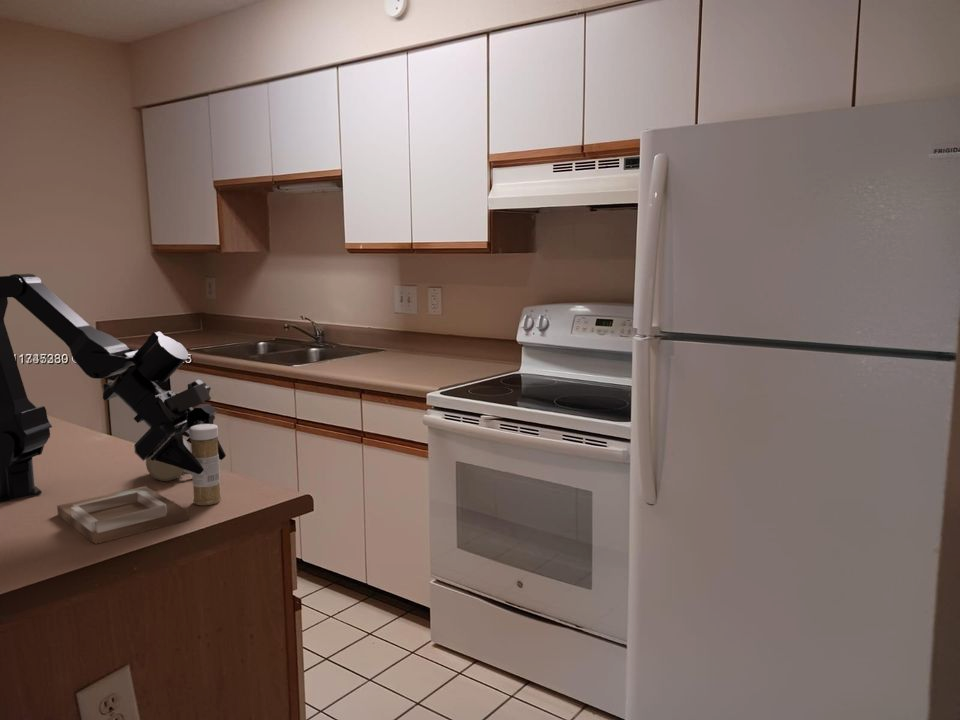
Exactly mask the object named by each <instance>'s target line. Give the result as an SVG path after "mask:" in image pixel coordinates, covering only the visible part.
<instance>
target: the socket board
mask: <svg viewBox="0 0 960 720" xmlns="http://www.w3.org/2000/svg"><path fill="white" fill-rule="evenodd" d="M56 506H57V507H56V509H57V516H58V517H60V518H61V519H63V520H64V521H65V522H66V523H67V524H69V525H70V527H72V528H74V529H75V530H76V531H77V532H79V533H80V534H81V533H82V534H81V535H83V536H84V537H85V538H86V539H87V540H89V541H90V540H91V541H92V542H91V541H90V542H91V543H92V544H94V543H95V544H94V545H98V544H97V543H99V544H101V543H102V542H103V543H106V542H110V541H113V539H114V540H117V539H116V538H118V539H121V538H120V537H122V538H124V536H125V537H128V536H127V535H129V536H132V535H131V534H133V535H137V534H139V532H141V533H144V532H148V531H152V530H155V529H159V527H160V528H163V527H166V526H170V524H171V525H174V524H175V525H176V524H179V523H181V522H182V523H183V522H185V520H186V521H189V510H188V509H186V508H185V507H183V506H181V505H179V504H178V503H176V502H174V501H172V500H170V498H167V497H165V496H163V495H161V493H158V492H156V491H154V490H153V489H151V488H149V487H147V486H146V485H145V486H140V487H136V488H132V489H126V490H122V491H117V492H113V493H108V494H103V495H99V496H94V497H90V498H86V499H85V498H84V499H80V500H76V501H72V502H67V503H62V504H58V505H56ZM178 522H179V523H178ZM151 529H152V530H151ZM147 530H148V531H147ZM143 531H144V532H143ZM136 533H137V534H136ZM105 541H106V542H105Z"/></svg>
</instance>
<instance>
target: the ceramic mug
mask: <svg viewBox="0 0 960 720" xmlns="http://www.w3.org/2000/svg"><path fill="white" fill-rule="evenodd" d="M186 440H187V439H184V438H183V443H184V445H185V446H186V447H187V449H188V450H189V451H190V452H191V448H190V445H189V442H188V441H186ZM153 453H154V454H153V455H152V456H151V457H150V458H148V459H146V460H145V466H146V470H147V472H148V473H149V475H150V476H151V477H153V478H154V479H155V480H158V481H161V482H169V481H173V480H176V479H177V478H179V477H180V476H181V475H183V473H185V474H187V475H191V476H192V472H191V471H188V470H185V469H182V468H179V467H176V466H173V465H170V464H166V463H163V462H159V461H156V460H154V461H152V460H150V459H151V458H152V457H153V456H154V455H155V454H156V453H155V452H154V451H153Z"/></svg>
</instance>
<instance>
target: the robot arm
mask: <svg viewBox="0 0 960 720" xmlns="http://www.w3.org/2000/svg"><path fill="white" fill-rule="evenodd" d="M8 298H13V299H15V300H16V301H17V302H18V303H19V304H20V305H21V306H22V307H24V308H25V309H26V310H27V311H29V312H30V313H31V314H32V315H33V316H34V317H35V318H36V319H38V321H39V322H41V323H42V324H43V325H44V326H45V327H46V328H48V329H49V330H50V331H51V332H52V333H53V334H54V335H55V336H57V337H58V338H59V339H60V340H61V341H62V342H64V343H65V345H66V346H67V347H68V348H69V350H70V353H71V357H72V360H73V361H74V362H75V363H76V364H77V366H78V367H79V368H80V369H81V370H82V372H84V374H85V375H86V376H88V377H89V378H91V379H104V378H105V379H106V378H108V377H111V376H116V375H118V376H117V377H116V378H115V379H114V380H113V381H109V382H105V383H103V393H102V399H103V401H108V400H110V399H113V398H116V397H119V398H120V400H122V402H123V403H125V405H126V406H127V407H129V409H130V410H132V412H134V414H135V417H133V420H134V422H136V423H141V422H143V423H145V424H146V425H147V426H148V428H149V429H148V430H147V431H146V432H145V433H144V434H143V435H142V436H141V437H140V438H139V439H138V440H137V442H135V444H134V446H133V447H134V454H135V455H136V456H137V457H139V458H140V459H141V461H146V459H148V458H150V457H151V456H152V455H153V454H154V453H153V451H154V452H155V453H156V454H155V455H154V456H153V457H152V458H151V459H150V460H152V461H154V460H156V461H159V462H163V463H166V464H170V465H173V466H176V467H179V468H182V469H185V470H188V471H191V472H194V473H197V474H201V473H202V472H203V471H204V469H203V467H202V466H201V465H200V463H199V462H198V461H197V459H196V458H195V457H194V456H193V455H192V451H191V450H190V451H189V450H188V449H187V447H186V446H185V445H184V443H183V439H184V437H187V439H185V440H186V442H187V443H188V444H191V440H190V434H189V429H190V427H192V426H195V425H199V424H214V421H215V419H216V416H215V415H216V413H217V409H215V408H214V407H213V406H212V405H211V404H210V403H205V402H208V401H211V400H212V397H211V396H210V392H211V386H209V385H207V384H206V382H203V381H202V380H201V379H196V380H194V381H192V382H190V383H188V384H187V389H185V390H183V391H181V392H179V393H175V392H174V391H173V390H167V391H164V390H163V389H162V388H161V387H160V386H159V385H158V384H157V382H161V383H163V382H167V381H168V380H169V378H171V377H172V375H173V374H174V373H175V372H176V371H177V370H178V369H179V368H180V367H181V366H182V365H183V364H184V363H185V362H186V361H187V359H189V352H188V350H187V349H186V347H185V346H184V345H183V344H182V343H181V342H179V341H176V340H175V339H173V338H171V337H169V336H167V335H164V334H163V333H162V332H161V331H154V332H151V334H150V335H149V336H148V337H147V339H146V341H145V342H144V343H143V344H142V345H141V346H140V348H139V349H136V348H130V347H128V346H127V344H125V343H124V342H122V341H120V340H119V339H117V338H116V337H114V336H113V335H111V334H109V333H106V332H104V331H101V330H99V329H97V328H95V327H93V326H92V325H90V324H89V323H88V322H87V321H85V320H84V319H83V317H81V315H79V314H78V313H77V312H75V311H74V310H73V309H72V308H71V307H70V306H69V305H67V304H66V303H65V302H64V301H63V300H62V299H61V298H59V297H58V296H57V295H56V294H55V293H54V292H53V291H52V290H51V289H49V288H48V287H47V286H46V285H45V284H44V283H43V282H42V280H41V278H40V277H39V276H37V275H35V274H33V273H14V274H10V275H4V276H3V275H2V276H1V275H0V503H2V502H3V503H5V502H8V501H13V500H18V499H23V498H28V497H33V496H38V495H41V494H42V490H41V489H40V488H38V486H36V485H35V476H34V475H35V474H34V462H33V458H34V457H36V456H40V455H43V451H44V447H45V445H46V444H47V442H48V440H49V439H50V438H51V437H50V436H51V430H50V429H51V428H52V427H53V425H52V424H51V423H50V421H49V418H48V412H47V408H46V407H45V406H44V405H42V406H36V405H34V403H32V402H31V401H30V400H29V398H28V395H27V392H26V389H25V386H24V383H23V379H22V377H21V376H22V375H21V373H20V369H19V366H18V364H17V359H16V355H15V353H14V350H13V347H12V346H13V345H12V342H11V341H10V336H9V333H8V331H7V328H6V327H7V326H6V324H5V315H6V312H7V308H8V304H9V300H8ZM131 366H132V368H131V369H130V370H129V371H127V370H128V369H129V367H131ZM217 442H218V454H219V461H220V460H221V461H222V460H224V458H226V456H227V455H226V453H225V451H224V449H223V447H222V445H221V444H220V443H221V442H220V441H219V438H218V439H217Z"/></svg>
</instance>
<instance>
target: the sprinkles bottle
mask: <svg viewBox="0 0 960 720" xmlns="http://www.w3.org/2000/svg"><path fill="white" fill-rule="evenodd" d="M189 434H190V440H191V443H190V444H191V445H190V447H191V448H190V450H191V453H192V455H193V456H194V457H195V458H196V459H197V461H198V462H199V463H200V465H201V466H202V467H203V469H204V471H203V472H202V473H201V474H197V473H194V472H192V475H191V477H192V485H193V486H192V487H193V504H195V505H197V506H212V505H215V504H218V503H219V502H221V499H222V497H221V487H220V486H221V484H220V482H221V478H220V477H221V476H220V473H221V472H220V459H219V454H218V442H217V439H218V440H219V438H218V437H219V427H218V425H217V424H214V423H213V424H199V425H195V426H192V427H190V429H189Z"/></svg>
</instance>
